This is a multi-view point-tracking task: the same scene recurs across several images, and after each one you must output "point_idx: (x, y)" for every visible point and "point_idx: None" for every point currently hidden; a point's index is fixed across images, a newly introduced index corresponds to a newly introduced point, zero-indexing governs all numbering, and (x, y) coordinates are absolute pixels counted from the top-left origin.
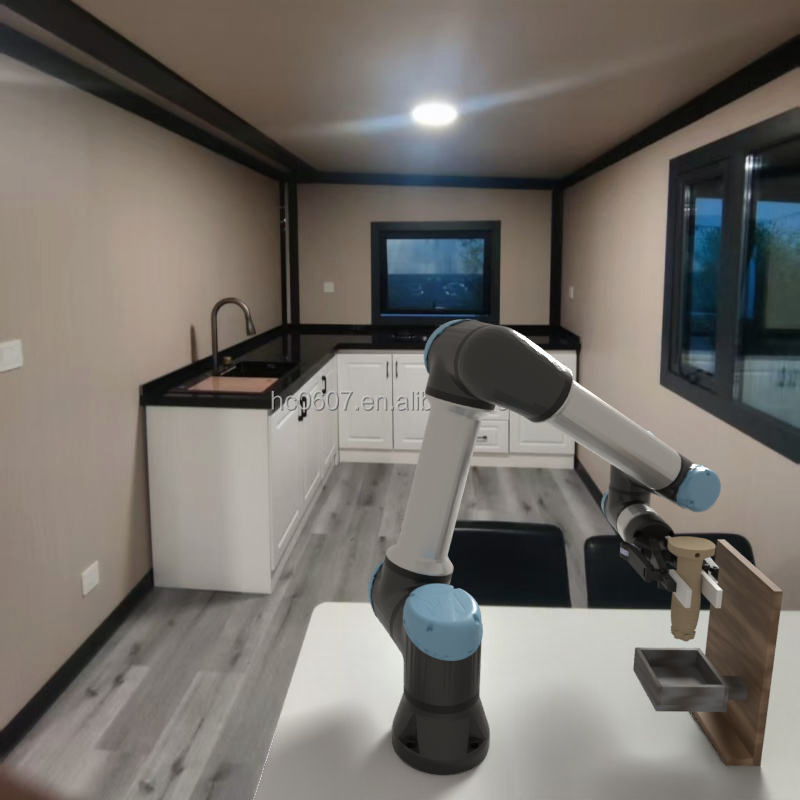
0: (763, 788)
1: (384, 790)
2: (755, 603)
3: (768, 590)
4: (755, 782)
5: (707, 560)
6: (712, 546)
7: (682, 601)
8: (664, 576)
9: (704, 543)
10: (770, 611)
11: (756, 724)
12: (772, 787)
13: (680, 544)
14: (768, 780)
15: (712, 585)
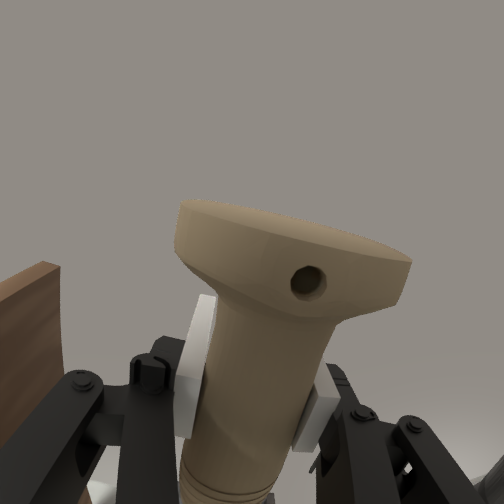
0: (111, 491)
1: (476, 480)
2: (21, 378)
3: (46, 286)
4: (114, 500)
5: (51, 439)
6: (212, 202)
7: None
8: (351, 396)
9: (232, 211)
10: (57, 325)
11: (87, 492)
12: (100, 489)
13: (353, 238)
14: (96, 497)
15: (213, 311)
